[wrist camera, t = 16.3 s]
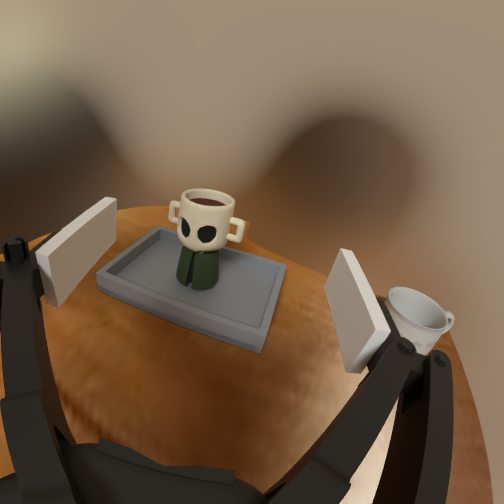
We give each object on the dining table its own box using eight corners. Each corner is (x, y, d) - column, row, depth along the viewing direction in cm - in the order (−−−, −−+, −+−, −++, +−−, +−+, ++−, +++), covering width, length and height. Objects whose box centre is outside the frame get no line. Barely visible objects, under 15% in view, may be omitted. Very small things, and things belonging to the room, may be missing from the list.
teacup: (368, 361, 35) (396, 319, 31) (364, 315, 44) (384, 276, 40) (442, 377, 33) (471, 340, 29) (429, 334, 42) (451, 299, 39)
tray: (97, 289, 36) (95, 272, 34) (157, 239, 52) (158, 225, 50) (260, 353, 33) (266, 337, 32) (282, 279, 49) (286, 264, 47)
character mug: (153, 280, 39) (157, 194, 33) (175, 258, 46) (183, 181, 39) (223, 305, 38) (241, 217, 32) (237, 279, 44) (255, 200, 38)
